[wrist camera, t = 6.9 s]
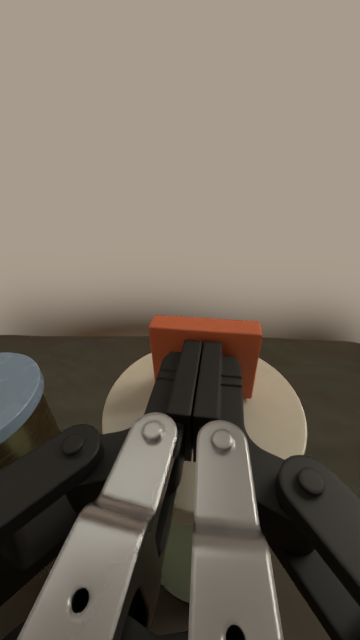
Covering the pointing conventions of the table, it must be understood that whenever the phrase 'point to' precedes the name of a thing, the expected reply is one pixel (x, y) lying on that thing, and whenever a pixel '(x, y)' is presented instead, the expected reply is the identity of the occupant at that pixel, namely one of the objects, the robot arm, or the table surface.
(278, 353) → the table surface
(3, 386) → the blue-grey lidded canister
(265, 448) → the sage cup
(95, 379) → the table surface
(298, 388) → the table surface
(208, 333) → the block
